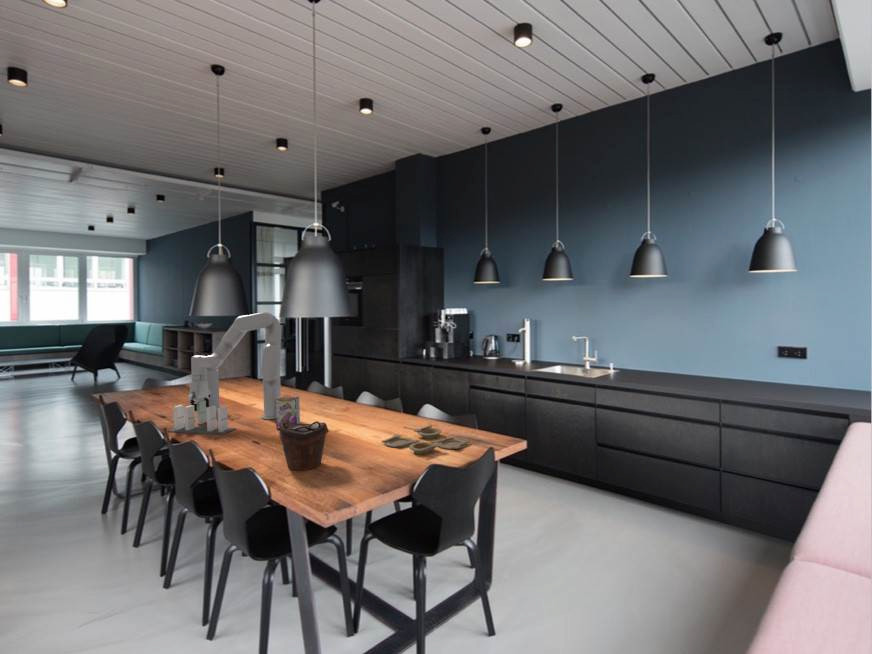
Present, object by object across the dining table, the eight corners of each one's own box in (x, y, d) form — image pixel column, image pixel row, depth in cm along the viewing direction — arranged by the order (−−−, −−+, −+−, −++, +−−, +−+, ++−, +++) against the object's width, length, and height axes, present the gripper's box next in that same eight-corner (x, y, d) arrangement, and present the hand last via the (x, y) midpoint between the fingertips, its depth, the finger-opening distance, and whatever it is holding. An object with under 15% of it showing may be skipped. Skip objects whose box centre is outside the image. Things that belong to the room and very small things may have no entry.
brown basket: (339, 463, 200) (337, 419, 199) (296, 477, 185) (293, 430, 184) (314, 455, 212) (311, 413, 211) (271, 468, 197) (268, 423, 196)
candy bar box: (276, 429, 254) (274, 398, 253) (280, 427, 259) (278, 396, 258) (297, 429, 253) (295, 398, 252) (300, 427, 258) (299, 396, 257)
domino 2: (195, 427, 260) (194, 405, 259) (188, 430, 255) (187, 407, 254) (192, 427, 260) (190, 405, 259) (185, 430, 255) (184, 407, 255)
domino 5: (228, 429, 255) (227, 406, 255) (222, 431, 251) (220, 408, 250) (224, 429, 256) (223, 406, 255) (218, 431, 251) (217, 408, 250)
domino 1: (184, 427, 261) (183, 404, 260) (177, 429, 256) (176, 407, 256) (181, 427, 262) (180, 404, 261) (174, 429, 257) (173, 406, 256)
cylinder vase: (214, 413, 294) (212, 371, 293) (193, 413, 295) (191, 372, 293) (223, 408, 307) (221, 368, 305) (203, 409, 307) (201, 369, 306)
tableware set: (376, 443, 228) (376, 434, 227) (426, 431, 246) (426, 423, 246) (424, 461, 201) (424, 452, 201) (475, 446, 220) (475, 437, 219)
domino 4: (217, 428, 257) (216, 405, 256) (210, 431, 252) (209, 408, 251) (213, 428, 257) (212, 405, 257) (207, 431, 252) (206, 408, 252)
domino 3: (206, 421, 274) (205, 400, 274) (200, 424, 269) (199, 402, 269) (203, 421, 275) (202, 400, 274) (197, 424, 270) (196, 402, 269)
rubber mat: (236, 429, 257) (236, 428, 257) (224, 434, 248) (224, 433, 248) (181, 426, 265) (181, 425, 265) (167, 431, 255) (167, 431, 255)
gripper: (204, 375, 280) (204, 405, 281) (182, 380, 263) (183, 412, 264) (215, 375, 278) (216, 405, 279) (194, 380, 261) (195, 412, 262)
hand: (200, 408), depth 271 cm, fingers open, 9 cm apart
